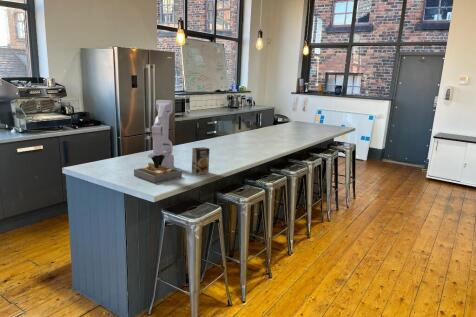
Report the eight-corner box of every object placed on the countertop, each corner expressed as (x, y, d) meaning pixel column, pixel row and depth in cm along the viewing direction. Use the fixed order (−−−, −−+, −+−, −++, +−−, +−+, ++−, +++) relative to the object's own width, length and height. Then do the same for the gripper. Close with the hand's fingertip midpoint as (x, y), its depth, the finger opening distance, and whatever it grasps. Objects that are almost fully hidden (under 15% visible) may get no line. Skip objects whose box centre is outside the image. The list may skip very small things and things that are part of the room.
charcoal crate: (161, 170, 231) (161, 164, 230) (181, 177, 218) (181, 170, 217) (134, 175, 216) (133, 169, 215) (153, 183, 203) (153, 176, 202)
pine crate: (155, 169, 225) (156, 160, 224) (172, 174, 220) (173, 165, 218) (141, 173, 214) (141, 164, 213) (157, 179, 208) (158, 169, 207)
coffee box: (196, 175, 224) (197, 149, 220) (191, 172, 229) (191, 147, 225) (209, 173, 229) (209, 148, 225) (203, 171, 234) (204, 146, 230)
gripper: (160, 142, 221) (160, 164, 224) (144, 146, 208) (144, 169, 211) (169, 144, 218) (169, 166, 220) (153, 147, 205) (153, 171, 208)
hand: (157, 167), depth 216 cm, fingers closed on pine crate
